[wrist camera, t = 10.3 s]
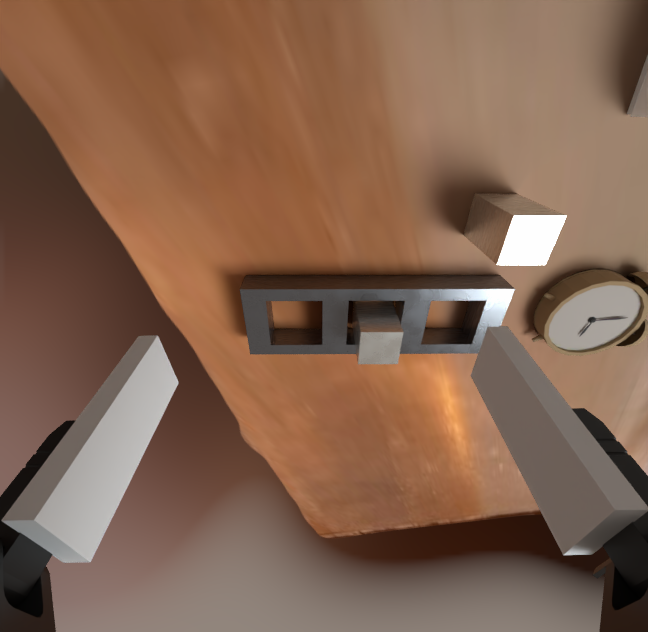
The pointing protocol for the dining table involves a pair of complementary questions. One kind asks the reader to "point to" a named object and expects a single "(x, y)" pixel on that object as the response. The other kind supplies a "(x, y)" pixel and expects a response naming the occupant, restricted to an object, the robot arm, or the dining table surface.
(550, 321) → the alarm clock
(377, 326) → the grey rectangular block
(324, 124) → the dining table surface
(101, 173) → the dining table surface
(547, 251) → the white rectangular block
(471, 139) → the dining table surface
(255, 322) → the grey metal flat frame
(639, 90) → the white box with dome
